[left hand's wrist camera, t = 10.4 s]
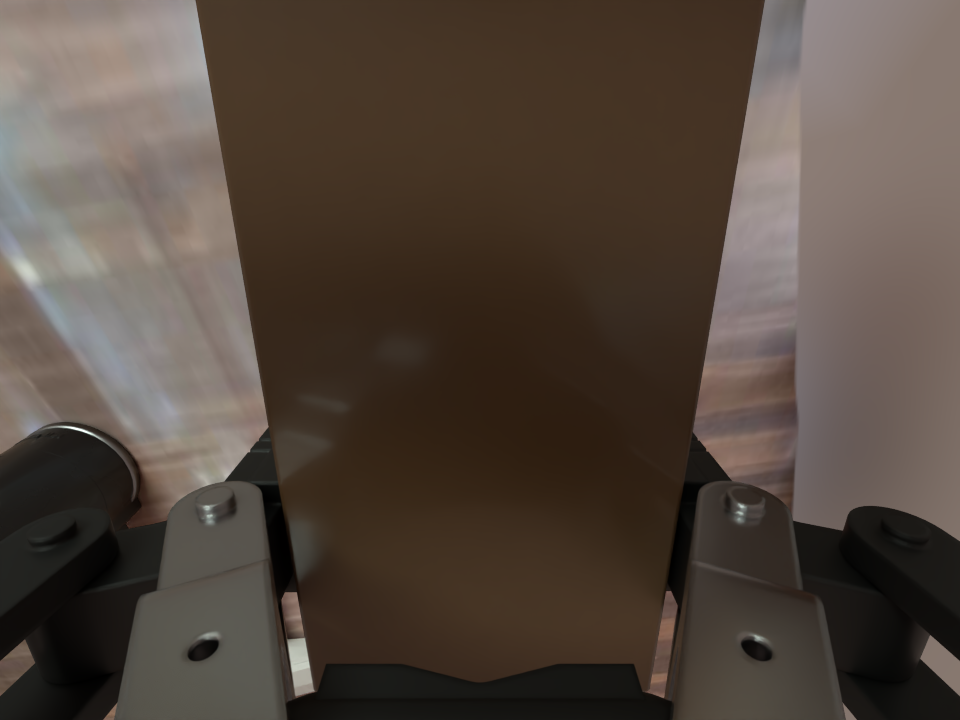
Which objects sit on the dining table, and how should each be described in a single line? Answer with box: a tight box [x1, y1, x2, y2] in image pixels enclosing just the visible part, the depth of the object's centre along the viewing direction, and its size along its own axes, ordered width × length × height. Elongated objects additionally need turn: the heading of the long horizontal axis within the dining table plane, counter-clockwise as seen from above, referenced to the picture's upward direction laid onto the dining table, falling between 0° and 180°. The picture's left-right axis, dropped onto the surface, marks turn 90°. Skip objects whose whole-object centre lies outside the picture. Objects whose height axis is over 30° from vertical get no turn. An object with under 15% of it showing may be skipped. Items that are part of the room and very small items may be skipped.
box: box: [196, 0, 765, 692], centre depth 9 cm, size 22×6×10 cm, turn 0°
